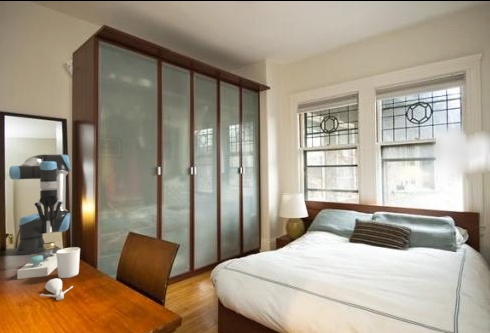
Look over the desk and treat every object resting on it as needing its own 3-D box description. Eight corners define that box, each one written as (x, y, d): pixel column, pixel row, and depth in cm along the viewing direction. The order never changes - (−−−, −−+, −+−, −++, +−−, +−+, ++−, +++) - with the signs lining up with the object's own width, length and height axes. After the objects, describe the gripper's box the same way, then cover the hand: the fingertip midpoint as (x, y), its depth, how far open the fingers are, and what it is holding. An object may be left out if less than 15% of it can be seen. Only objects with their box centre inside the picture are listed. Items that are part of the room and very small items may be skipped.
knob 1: (32, 269, 136) (32, 255, 136) (45, 268, 137) (44, 254, 137) (27, 273, 131) (27, 259, 131) (40, 271, 132) (40, 257, 132)
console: (40, 262, 152) (40, 255, 152) (65, 259, 155) (64, 252, 155) (17, 279, 128) (17, 270, 128) (47, 275, 131) (47, 267, 132)
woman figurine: (68, 273, 123) (78, 287, 110) (68, 282, 123) (78, 298, 110) (36, 280, 115) (42, 297, 102) (36, 291, 115) (42, 309, 102)
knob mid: (39, 264, 143) (39, 251, 144) (51, 263, 145) (51, 250, 145) (35, 268, 138) (35, 254, 139) (47, 266, 140) (47, 253, 140)
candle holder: (85, 271, 136) (84, 247, 136) (70, 279, 127) (70, 253, 127) (66, 271, 137) (66, 247, 137) (51, 278, 128) (50, 253, 128)
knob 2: (46, 255, 151) (45, 242, 151) (56, 253, 153) (56, 241, 153) (42, 257, 146) (41, 245, 146) (53, 256, 148) (53, 244, 148)
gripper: (31, 190, 144) (32, 235, 144) (60, 189, 148) (60, 233, 148) (37, 189, 151) (38, 232, 151) (64, 188, 155) (65, 230, 155)
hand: (49, 232), depth 149 cm, fingers closed
